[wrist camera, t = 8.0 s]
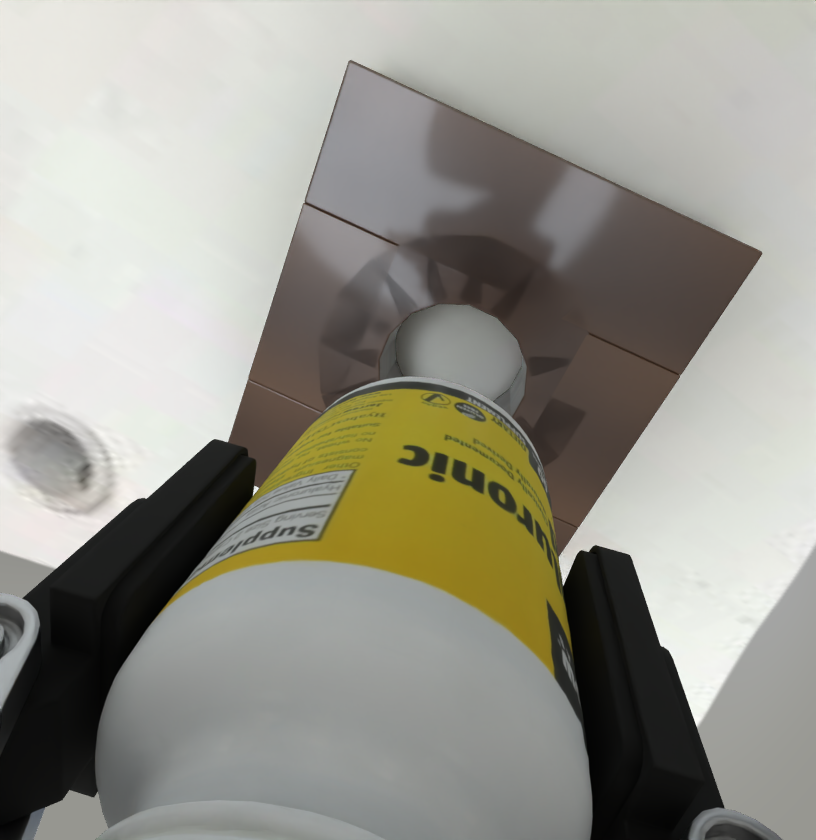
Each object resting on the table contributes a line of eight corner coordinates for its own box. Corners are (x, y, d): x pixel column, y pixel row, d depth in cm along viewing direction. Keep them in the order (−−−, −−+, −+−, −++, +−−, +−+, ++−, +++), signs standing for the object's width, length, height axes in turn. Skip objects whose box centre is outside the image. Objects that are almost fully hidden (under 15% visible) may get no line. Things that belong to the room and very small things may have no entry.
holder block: (372, 76, 24) (348, 58, 20) (725, 240, 24) (764, 252, 21) (252, 435, 31) (218, 470, 28) (523, 557, 32) (525, 607, 28)
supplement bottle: (594, 533, 12) (828, 1458, 3) (385, 621, 14) (182, 1381, 5) (463, 316, 11) (289, 900, 2) (251, 442, 13) (-333, 1051, 4)
